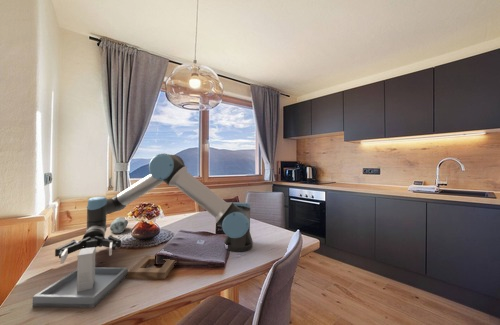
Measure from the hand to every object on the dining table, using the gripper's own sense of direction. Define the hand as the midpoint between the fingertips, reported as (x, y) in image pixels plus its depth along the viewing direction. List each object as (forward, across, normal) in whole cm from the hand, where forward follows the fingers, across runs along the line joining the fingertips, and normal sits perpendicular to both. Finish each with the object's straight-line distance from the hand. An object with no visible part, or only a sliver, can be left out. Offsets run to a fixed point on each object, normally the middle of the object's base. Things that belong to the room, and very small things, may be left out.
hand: (87, 255), depth 75 cm
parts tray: (+3, 0, -10) cm, 11 cm away
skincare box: (+3, 0, -9) cm, 10 cm away
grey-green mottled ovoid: (-61, -9, -10) cm, 63 cm away
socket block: (0, -22, -10) cm, 24 cm away
